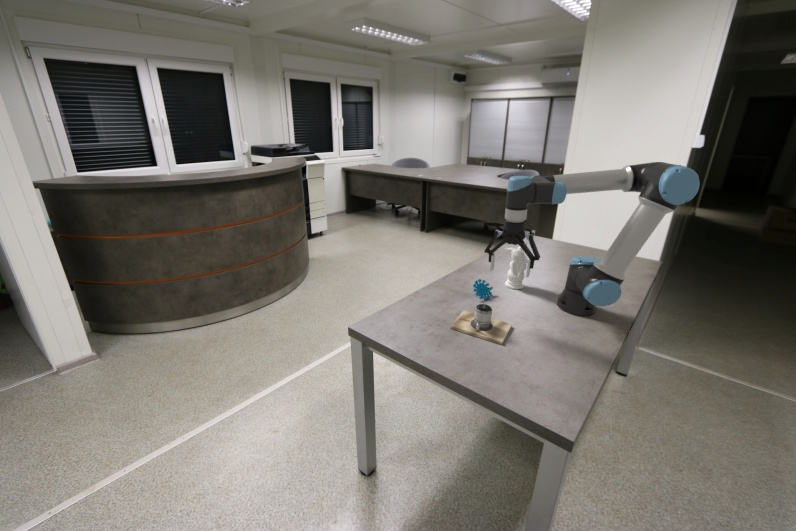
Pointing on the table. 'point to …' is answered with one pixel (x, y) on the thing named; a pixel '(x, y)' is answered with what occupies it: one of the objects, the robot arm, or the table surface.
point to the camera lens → (483, 315)
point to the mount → (493, 335)
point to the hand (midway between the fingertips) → (509, 272)
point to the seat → (482, 328)
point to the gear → (482, 289)
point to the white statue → (516, 268)
